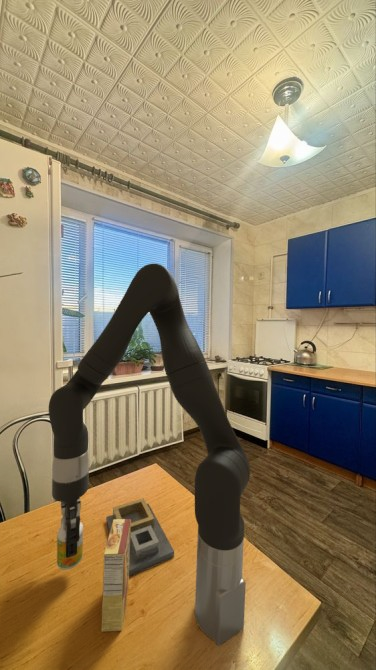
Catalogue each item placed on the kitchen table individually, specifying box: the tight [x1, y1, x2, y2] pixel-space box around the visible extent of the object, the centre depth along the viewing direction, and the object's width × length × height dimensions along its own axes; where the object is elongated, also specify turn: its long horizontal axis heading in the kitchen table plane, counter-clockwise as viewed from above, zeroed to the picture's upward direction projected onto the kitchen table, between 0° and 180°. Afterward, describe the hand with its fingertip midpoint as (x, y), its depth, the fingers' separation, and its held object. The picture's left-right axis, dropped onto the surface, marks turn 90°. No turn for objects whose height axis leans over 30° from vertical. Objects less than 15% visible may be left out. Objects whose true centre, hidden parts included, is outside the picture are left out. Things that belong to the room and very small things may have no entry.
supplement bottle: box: [56, 516, 84, 571], centre depth 58 cm, size 5×5×10 cm
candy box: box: [101, 519, 131, 633], centre depth 52 cm, size 9×4×15 cm, turn 6°
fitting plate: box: [105, 498, 175, 578], centre depth 69 cm, size 19×13×4 cm
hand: (70, 544), depth 58 cm, fingers closed on supplement bottle, 5 cm apart
